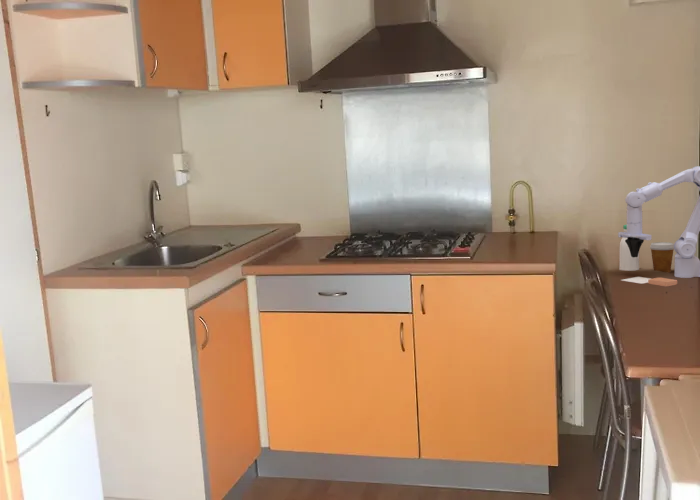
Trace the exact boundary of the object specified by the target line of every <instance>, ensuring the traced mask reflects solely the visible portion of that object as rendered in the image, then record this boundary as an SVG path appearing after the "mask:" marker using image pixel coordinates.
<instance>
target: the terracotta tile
mask: <svg viewBox="0 0 700 500" xmlns="http://www.w3.org/2000/svg"><path fill="white" fill-rule="evenodd" d="M647 284H649V285H655V286H661V287H670V286H676V285H678V280H677V279H673V278H672V279H671V278H665V277H660V276H659V277H655V278H653V277H652V278H650V279H648V283H647Z"/></svg>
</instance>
